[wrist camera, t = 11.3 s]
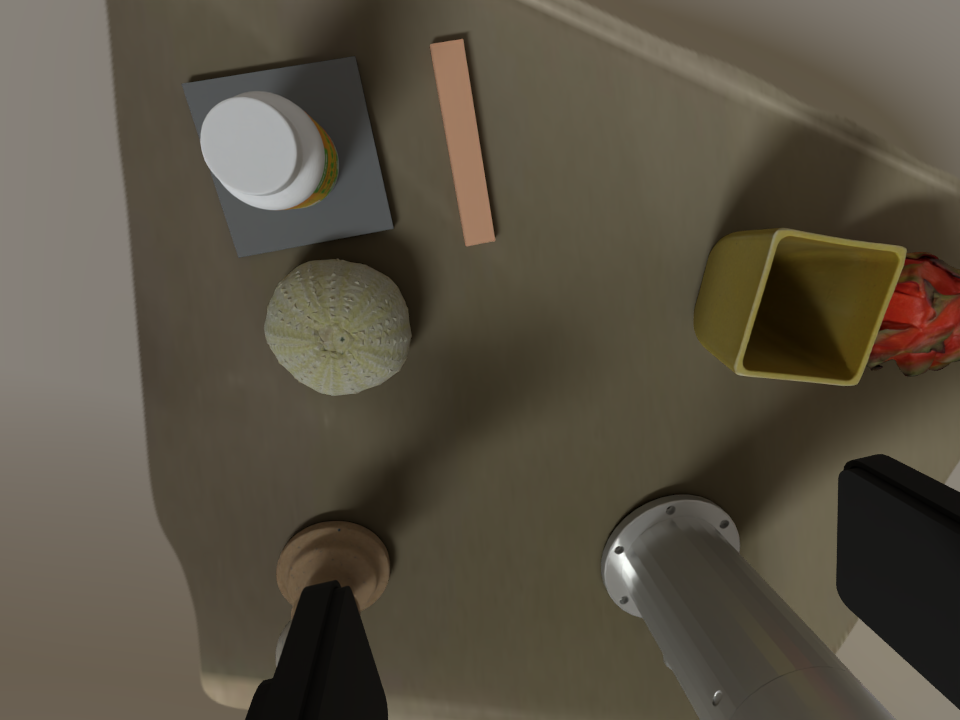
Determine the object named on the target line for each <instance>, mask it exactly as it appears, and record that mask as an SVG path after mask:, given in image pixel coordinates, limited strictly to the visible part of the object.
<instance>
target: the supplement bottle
mask: <svg viewBox="0 0 960 720" xmlns="http://www.w3.org/2000/svg"><path fill="white" fill-rule="evenodd" d="M200 141H201V149H202V153H203V156H204V159H205V161H206V163H207V165H208V167H209V168H210V170H211V171H212V173H213V174H214V175H215V176H216V177H217V178H218V179H219V181H220V182H221V183H222V184H223V186H224V187H225V188H226V189H227V190H228V191H229V192H230V193H231V194H232V195H234V196H235V197H236V198H238V199H239V200H241V201H243V202H244V203H247V204H249V205H251V206H254V207H257V208H261V209H267V210H289V209H300V208H306V207H310V206H313V205H315V204H317V203H319V202H321V201H322V200H323V199H325V198H326V197H327V196H328V195H329V194H330V192H331V191H332V189H333V188H334V186H335V184H336V181H337V178H338V172H339V160H338V154H337V151H336V148H335V146H334V144H333V142H332V140H331V138H330V137H329V135H328V134H327V133H326V131H325V130H324V129H323V128H322V127H321V126H320V125H319V124H318V123H317V122H316V121H314V120H313V119H312V118H311V117H310V116H309V115H308V114H307V113H306V112H305V111H303V110H302V109H301V108H300V107H298V106H297V105H296V104H294V103H293V102H291V101H290V100H288V99H286V98H284V97H282V96H280V95H277V94H273V93H269V92H263V91H252V92H246V93H242V94H239V95H236V96H234V97H232V98H228V99H226V100H223V101H221V102H220V103H218V104H217V105H216V106H214V107H213V108H212V109H211V110H210V112H209V113H208V114H207V116H206V118H205V120H204V122H203V125H202V129H201V139H200Z"/></svg>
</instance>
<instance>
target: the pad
mask: <svg viewBox="0 0 960 720" xmlns="http://www.w3.org/2000/svg"><path fill="white" fill-rule="evenodd" d="M182 87H183V90H184V93H185V96H186V99H187V102H188V105H189V108H190V111H191V114H192V117H193V120H194V123H195V126H196V129H197V132H198V136H199V139H201V129H202V125H203V122H204V120H205V118H206V116H207V114H208V113H209V112H210V110H211V109H212V108H213V107H214V106H216V105H217V104H218V103H220V102H221V101H223V100H226V99H228V98H232V97H234V96H236V95H239V94H242V93H246V92H252V91H263V92H269V93H273V94H277V95H280V96H282V97H284V98H286V99H288V100H290V101H291V102H293V103H294V104H296V105H297V106H298V107H300V108H301V109H302V110H303V111H305V112H306V113H307V114H308V115H309V116H310V117H311V118H312V119H313V120H314V121H316V122H317V123H318V124H319V125H320V126H321V127H322V128H323V129H324V130H325V131H326V133H327V134H328V135H329V137H330V138H331V140H332V142H333V144H334V146H335V148H336V151H337V154H338V160H339V172H338V178H337V181H336V184H335V186H334V188H333V189H332V191H331V192H330V194H329V195H328V196H327V197H326V198H325V199H323V200H322V201H321V202H319V203H317V204H315V205H313V206H310V207H306V208H300V209H289V210H267V209H261V208H257V207H254V206H251V205H249V204H247V203H244V202H243V201H241V200H239V199H238V198H236V197H235V196H234V195H232V194H231V193H230V192H229V191H228V190H227V189H226V188H225V187H224V186H223V184H222V183H221V182H220V181H219V179H218V178H217V177H216V176H215V175H214V174H213V173H212V171H211V170H210V172H211V175H212V178H213V181H214V184H215V187H216V190H217V193H218V196H219V200H220V203H221V206H222V209H223V212H224V215H225V218H226V221H227V224H228V227H229V230H230V233H231V236H232V239H233V242H234V245H235V248H236V251H237V254H238V257H239V258H240V257H245V256H250V255H256V254H261V253H266V252H272V251H277V250H282V249H288V248H293V247H298V246H304V245H309V244H314V243H320V242H325V241H330V240H336V239H341V238H346V237H352V236H357V235H362V234H368V233H373V232H378V231H384V230H389V229H394V227H393V222H392V218H391V213H390V209H389V204H388V200H387V196H386V191H385V187H384V182H383V178H382V173H381V169H380V164H379V160H378V155H377V151H376V146H375V142H374V137H373V133H372V128H371V124H370V119H369V115H368V110H367V106H366V101H365V97H364V92H363V88H362V83H361V79H360V74H359V70H358V66H357V61H356V57H355V56H353V57H346V58H340V59H334V60H328V61H321V62H315V63H309V64H303V65H296V66H290V67H284V68H278V69H271V70H265V71H259V72H253V73H246V74H240V75H234V76H228V77H221V78H215V79H209V80H203V81H196V82H190V83H184V84H182ZM200 142H201V141H200ZM209 169H210V168H209Z"/></svg>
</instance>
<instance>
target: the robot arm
mask: <svg viewBox="0 0 960 720" xmlns="http://www.w3.org/2000/svg"><path fill="white" fill-rule="evenodd" d="M739 552H740V539H739V533H738V531H737V528H736V525H735V523H734V522H733V521H732V519H731V518H730V516H729V515H728V514H727V513H726V512H725V511H724V510H723V509H722V508H721V507H720V506H718V505H717V504H715V503H714V502H712V501H710V500H708V499H705V498H703V497H700V496H694V495H688V494H686V495H671V496H666V497H661V498H659V499H656V500H653V501H651V502H648V503H646V504H645V505H643V506H641V507H639V508H637V509H636V510H634V511H633V512H632V513H631V514H629V515H628V516H627V517H625V518H624V520H623V521H622V522H621V523H620V524H619V525H618V526H617V527H616V528H615V530H614V531H613V533H612V534H611V536H610V537H609V539H608V541H607V543H606V546H605V548H604V551H603V555H602V560H601V574H602V579H603V583H604V585H605V587H606V589H607V591H608V593H609V595H610V596H611V598H612V599H613V601H614V602H615V603H616V604H617V605H618V606H619V607H620V608H621V609H622V610H624V611H626V612H628V613H629V614H631V615H634V616H637V617H641V618H643V619H644V621H645V623H646V625H647V626H648V628H649V630H650V632H651V633H652V635H653V637H654V639H655V640H656V642H657V644H658V646H659V648H660V649H661V651H662V653H663V658H664V663H665V664H666V666H667V667H669V668H670V669H672V671H673V672H674V674H675V676H676V678H677V680H678V681H679V683H680V685H681V687H682V688H683V690H684V692H685V694H686V696H687V697H688V699H689V701H690V703H691V704H692V706H693V708H694V710H695V711H696V713H697V715H698V717H699V719H700V720H896V719H895V718H894V717H893V716H892V715H891V714H890V713H889V712H888V711H887V710H886V708H884V706H883V705H882V704H881V703H880V702H879V701H878V700H877V699H876V698H875V697H874V696H873V695H872V694H871V693H870V692H869V690H868V689H867V688H866V687H865V686H864V685H863V684H862V683H861V682H860V681H859V680H858V679H857V678H856V677H855V676H854V675H853V674H852V673H851V672H850V671H849V669H848V668H847V667H846V666H845V665H844V664H843V663H842V662H841V661H840V660H839V659H838V657H836V655H835V654H834V653H833V652H832V651H831V650H830V649H829V648H828V647H827V646H826V645H825V644H824V643H823V642H822V640H821V639H820V638H819V637H818V636H817V635H816V634H815V633H814V632H813V631H812V630H811V629H810V628H809V627H808V626H807V625H806V624H805V622H804V621H803V620H802V619H801V618H800V617H799V616H798V615H797V614H796V613H795V612H794V611H793V610H792V609H791V608H790V607H789V605H788V604H787V603H786V602H785V601H784V600H783V599H782V598H781V597H780V596H779V595H778V594H777V593H776V592H775V591H774V590H773V588H772V587H771V586H770V585H769V584H768V583H767V582H766V581H765V580H764V579H763V578H762V577H761V576H760V575H759V574H758V573H757V572H756V570H755V569H754V568H753V567H752V566H751V565H750V564H749V563H748V562H747V561H746V560H745V559H744V558H743V557H742V556H741V555H740V553H739ZM836 586H837V591H838V594H839V596H840V598H841V600H842V601H843V603H844V604H845V605H846V606H847V607H848V608H849V609H850V610H851V611H852V612H853V613H854V614H855V615H856V616H857V617H859V618H860V619H861V620H862V621H863V622H864V623H865V624H866V625H867V626H869V627H870V628H871V629H872V630H873V631H874V632H875V633H876V634H877V635H878V636H879V637H881V638H882V639H883V640H884V641H885V642H886V643H887V644H888V645H889V646H891V647H892V648H893V649H894V650H895V651H896V652H897V653H898V654H899V655H900V656H901V657H903V659H905V660H906V661H907V662H908V663H909V664H910V665H911V666H912V667H914V669H916V670H917V671H918V672H919V673H920V674H921V675H922V676H923V677H924V678H926V679H927V680H928V681H929V682H930V683H931V684H932V685H933V686H934V687H935V688H936V689H938V690H939V691H940V692H941V693H942V694H943V695H944V696H945V697H946V698H947V699H949V700H950V701H951V702H952V703H953V704H954V705H955V706H956V707H957V708H958V709H959V710H960V492H958V491H956V490H954V489H952V488H950V487H948V486H946V485H944V484H942V483H941V482H939V481H937V480H935V479H933V478H931V477H929V476H927V475H925V474H923V473H921V472H919V471H917V470H915V469H913V468H911V467H909V466H907V465H905V464H903V463H901V462H899V461H897V460H895V459H893V458H891V457H889V456H886V455H883V454H877V455H872V456H868V457H864V458H859V459H855V460H851V461H849V462H847V463H846V465H845V466H844V471H842V472H841V473H840V474H839V478H838V524H837V574H836ZM245 720H388V709H387V701H386V697H385V693H384V690H383V687H382V684H381V680H380V677H379V674H378V671H377V668H376V665H375V661H374V658H373V655H372V652H371V649H370V646H369V642H368V639H367V636H366V633H365V630H364V627H363V624H362V620H361V617H360V614H359V611H358V608H357V605H356V601H355V598H354V595H353V592H352V589H351V588H350V586H344V587H341V585H340V583H339V582H338V581H337V580H332V581H328V582H324V583H320V584H315V585H311V586H307V587H305V588H303V590H302V592H301V595H300V598H299V601H298V604H297V607H296V610H295V613H294V616H293V619H292V622H291V626H290V629H289V632H288V635H287V638H286V641H285V644H284V647H283V650H282V653H281V656H280V659H279V662H278V665H277V668H276V671H275V674H274V677H273V678H272V679H268V680H264V681H263V682H262V683H261V684H260V685H259V686H258V688H257V690H256V692H255V694H254V696H253V699H252V702H251V705H250V708H249V710H248V713H247V716H246V719H245Z"/></svg>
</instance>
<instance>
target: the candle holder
mask: <svg viewBox="0 0 960 720" xmlns="http://www.w3.org/2000/svg"><path fill="white" fill-rule="evenodd" d="M276 576H277V583H278V586H279V589H280V591H281V593H282V594H283V596H284V597H285V598H286V600H287V601H289V602H290V603H291V604H292V605H293V607H292V610H291V620H290V621H289V622H288V624H287V625H286V626H285V628H284V629H283V631H282V633H281V634H280V637H279V640H278V643H277V646H276V655H275V658H276V668H277V665H278V662H279V659H280V656H281V653H282V650H283V647H284V644H285V641H286V638H287V635H288V632H289V629H290V626H291V622H292V619H293V616H294V613H295V610H296V607H297V604H298V601H299V598H300V595H301V592H302V590H303V588H305V587H307V586H311V585H315V584H320V583H324V582H328V581H332V580H337V581H338V582H339V583H340V585H341V587H344V586H350V588H351V589H352V592H353V595H354V598H355V601H356V605H357V608H358V611H359V614H360V611H362V610H364V609H366V608H367V607H369V606H370V605H372V604H373V603H374V602H375V601H376V600H377V599H378V598H379V597H380V596H381V595H382V593H383V591H384V590H385V588H386V586H387V583H388V581H389V576H390V559H389V554H388V551H387V549H386V547H385V545H384V544H383V542H382V541H381V540H380V539H379V538H378V536H377V535H375V534H374V533H373V532H372V531H370V530H368V529H367V528H365V527H363V526H360V525H358V524H355V523H351V522H346V521H327V522H321V523H317V524H314V525H311V526H309V527H307V528H305V529H303V530H301V531H300V532H298V533H297V534H296V535H295V536H293V537H292V538H291V539H290V540H289V542H288V543H287V544H286V545H285V547H284V549H283V551H282V553H281V554H280V557H279V560H278V563H277V570H276Z"/></svg>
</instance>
